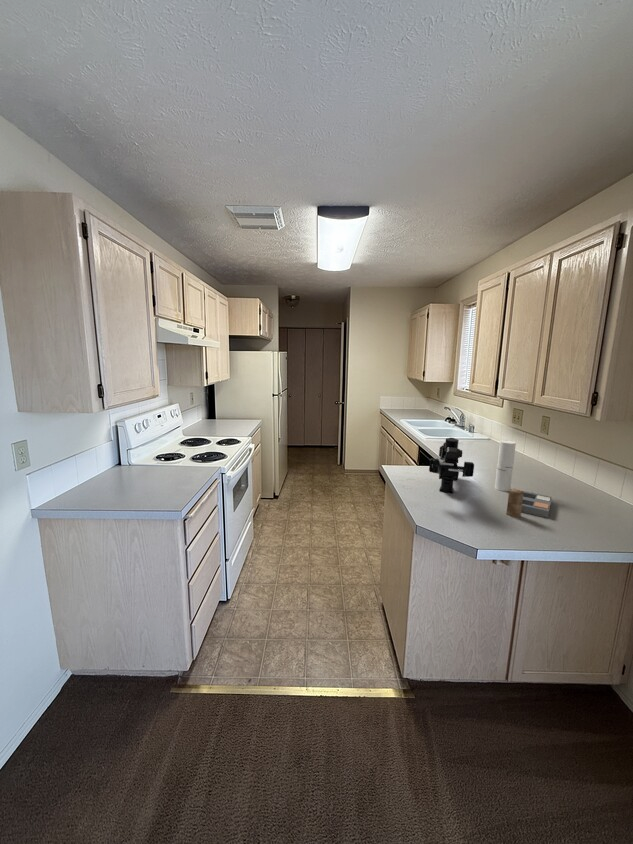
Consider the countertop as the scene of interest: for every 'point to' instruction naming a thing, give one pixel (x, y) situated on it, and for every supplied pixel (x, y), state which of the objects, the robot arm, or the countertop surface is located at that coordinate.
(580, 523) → the countertop surface
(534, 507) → the socket block
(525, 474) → the countertop surface
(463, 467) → the robot arm
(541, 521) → the countertop surface
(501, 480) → the cylindrical container
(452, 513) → the countertop surface
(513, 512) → the brown wooden block
